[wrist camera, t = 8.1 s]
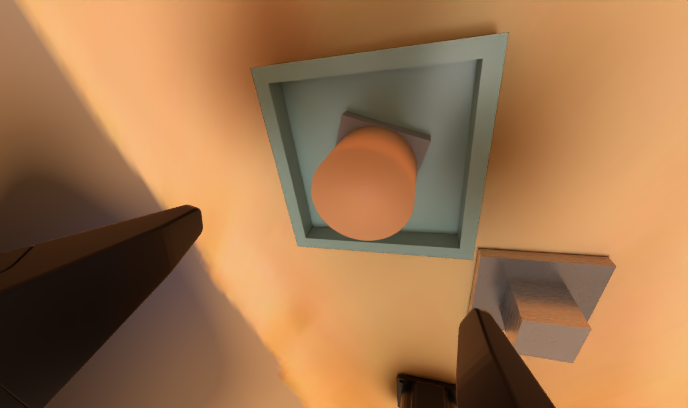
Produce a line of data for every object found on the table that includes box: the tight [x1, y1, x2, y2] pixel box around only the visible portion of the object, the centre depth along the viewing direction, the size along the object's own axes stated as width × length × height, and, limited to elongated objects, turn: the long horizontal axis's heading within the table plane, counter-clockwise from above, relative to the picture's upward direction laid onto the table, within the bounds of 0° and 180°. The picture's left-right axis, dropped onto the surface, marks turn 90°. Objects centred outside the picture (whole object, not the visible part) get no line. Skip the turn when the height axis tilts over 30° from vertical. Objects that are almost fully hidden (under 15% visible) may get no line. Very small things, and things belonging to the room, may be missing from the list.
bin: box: [250, 32, 509, 260], centre depth 16 cm, size 12×12×2 cm
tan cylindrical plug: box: [311, 111, 431, 241], centre depth 14 cm, size 5×5×4 cm
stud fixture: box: [468, 248, 616, 363], centre depth 17 cm, size 7×7×4 cm
